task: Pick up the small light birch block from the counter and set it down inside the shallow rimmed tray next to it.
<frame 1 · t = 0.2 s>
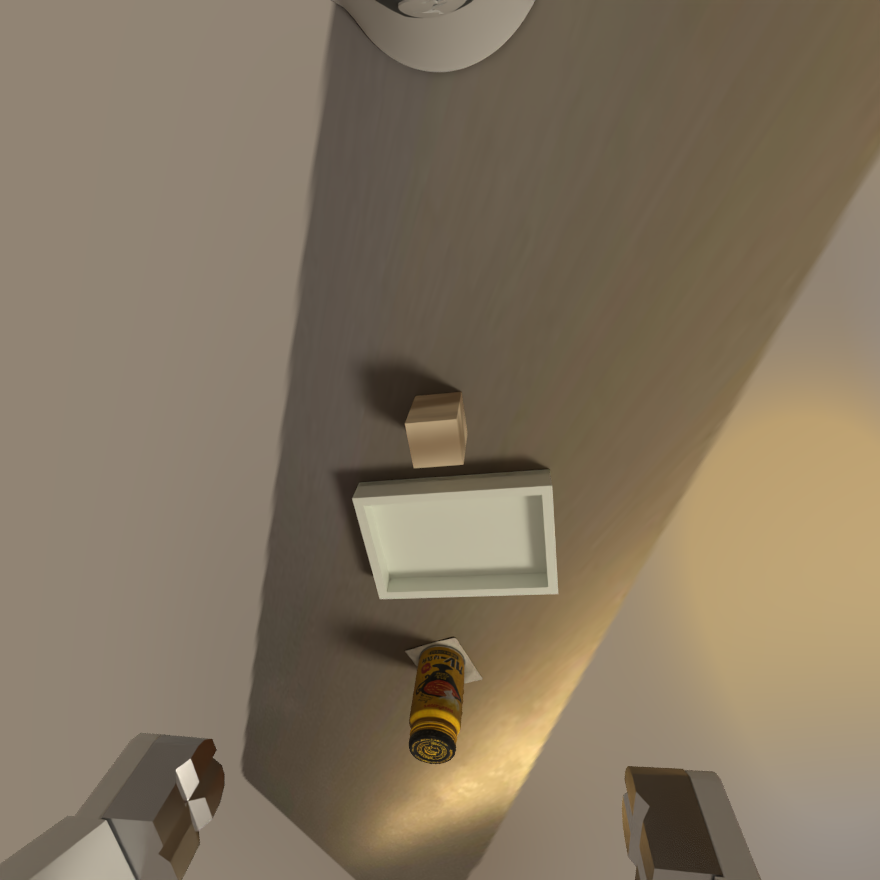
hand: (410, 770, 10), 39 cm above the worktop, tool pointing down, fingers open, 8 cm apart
condiment: (444, 662, 66), on the worktop
birch block: (441, 414, 49), on the worktop
shallow rimmed tray: (460, 529, 55), on the worktop
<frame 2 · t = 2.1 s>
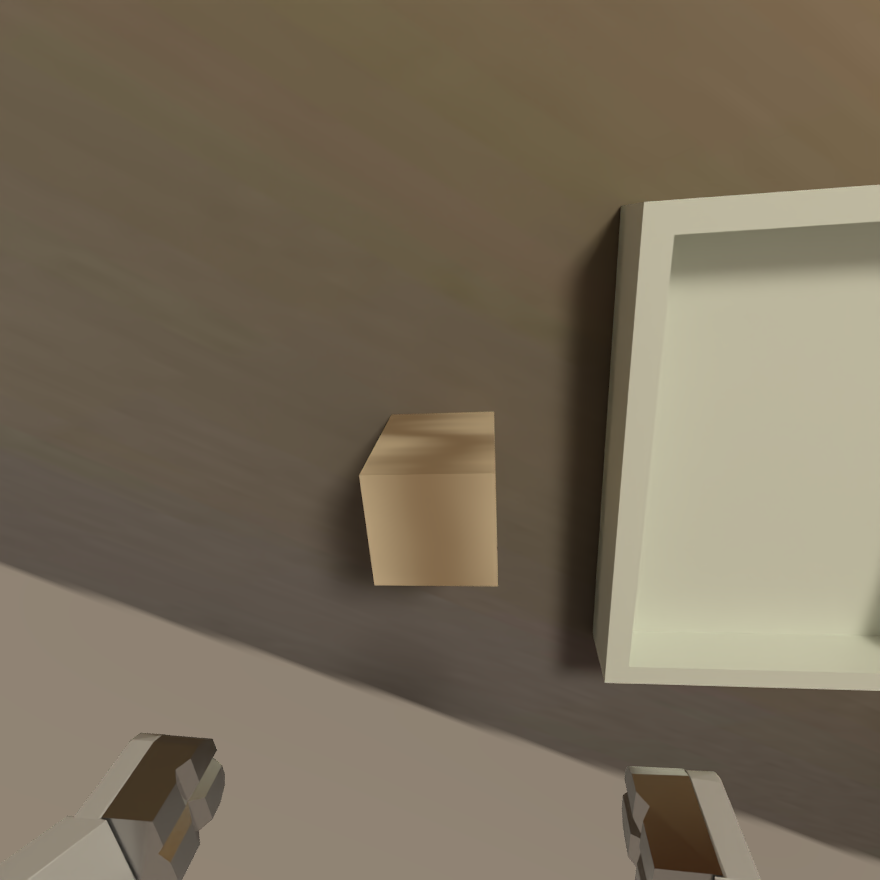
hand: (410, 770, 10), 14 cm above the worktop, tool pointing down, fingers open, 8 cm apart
birch block: (445, 459, 23), on the worktop
shallow rimmed tray: (774, 454, 21), on the worktop
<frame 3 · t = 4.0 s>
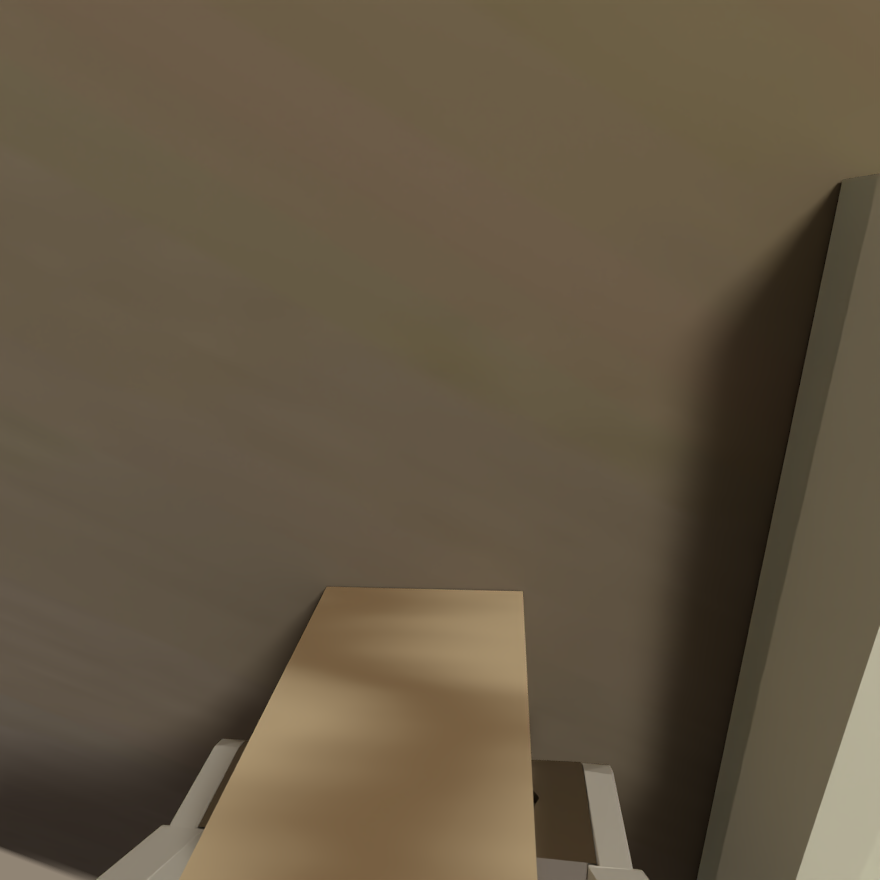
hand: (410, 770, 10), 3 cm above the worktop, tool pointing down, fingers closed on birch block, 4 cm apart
birch block: (429, 664, 12), on the worktop, touching gripper
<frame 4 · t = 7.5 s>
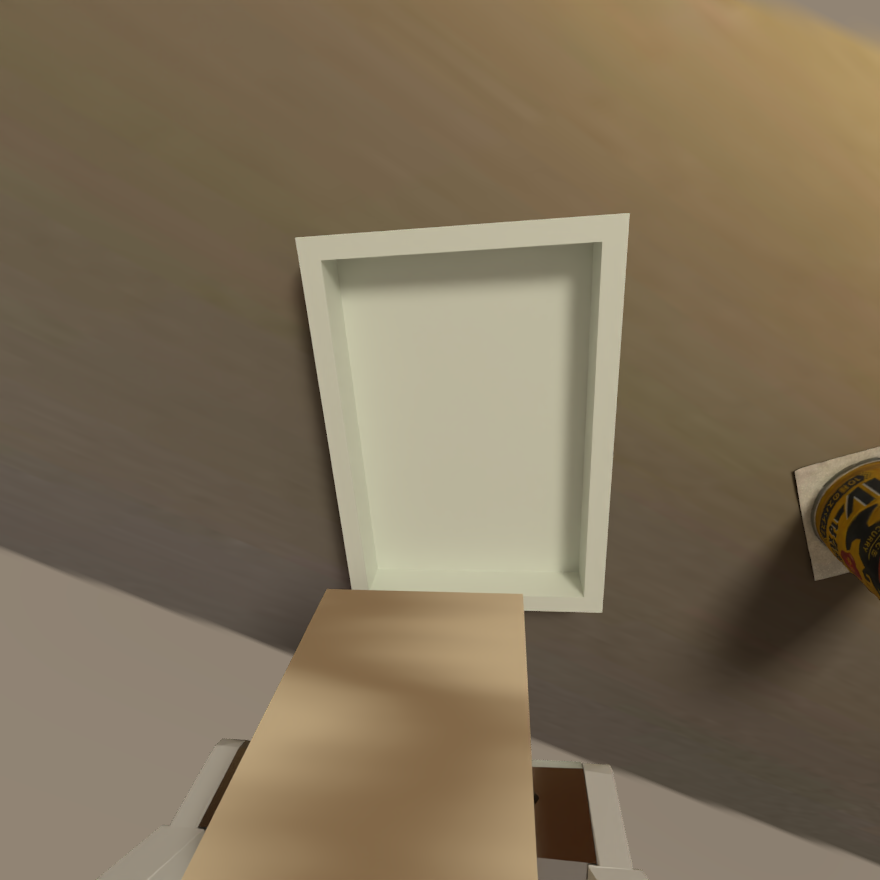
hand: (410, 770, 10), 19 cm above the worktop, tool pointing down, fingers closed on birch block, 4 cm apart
birch block: (429, 666, 12), point 17 cm above the worktop, touching gripper
shallow rimmed tray: (469, 425, 27), on the worktop
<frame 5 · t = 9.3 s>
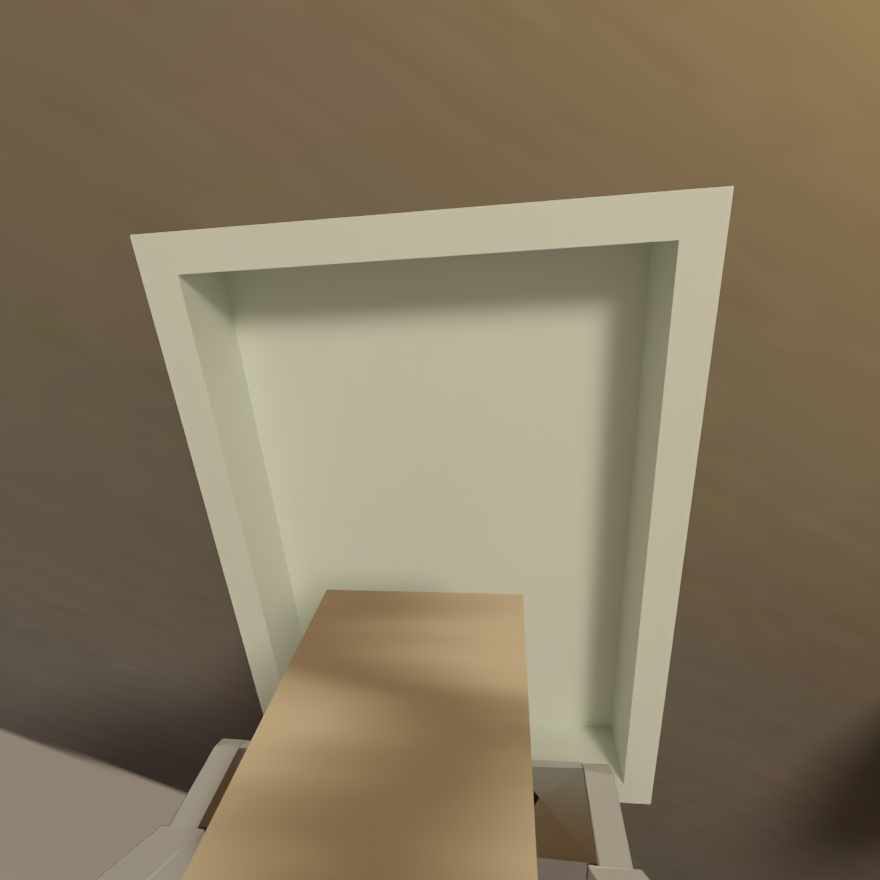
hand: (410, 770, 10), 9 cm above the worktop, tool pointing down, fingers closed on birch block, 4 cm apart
birch block: (429, 667, 12), point 6 cm above the worktop, touching gripper
shallow rimmed tray: (448, 520, 18), on the worktop
when the fingers open (5 cm above the worktop, at t = 10.9 s): birch block drops 2 cm, resting on shallow rimmed tray.
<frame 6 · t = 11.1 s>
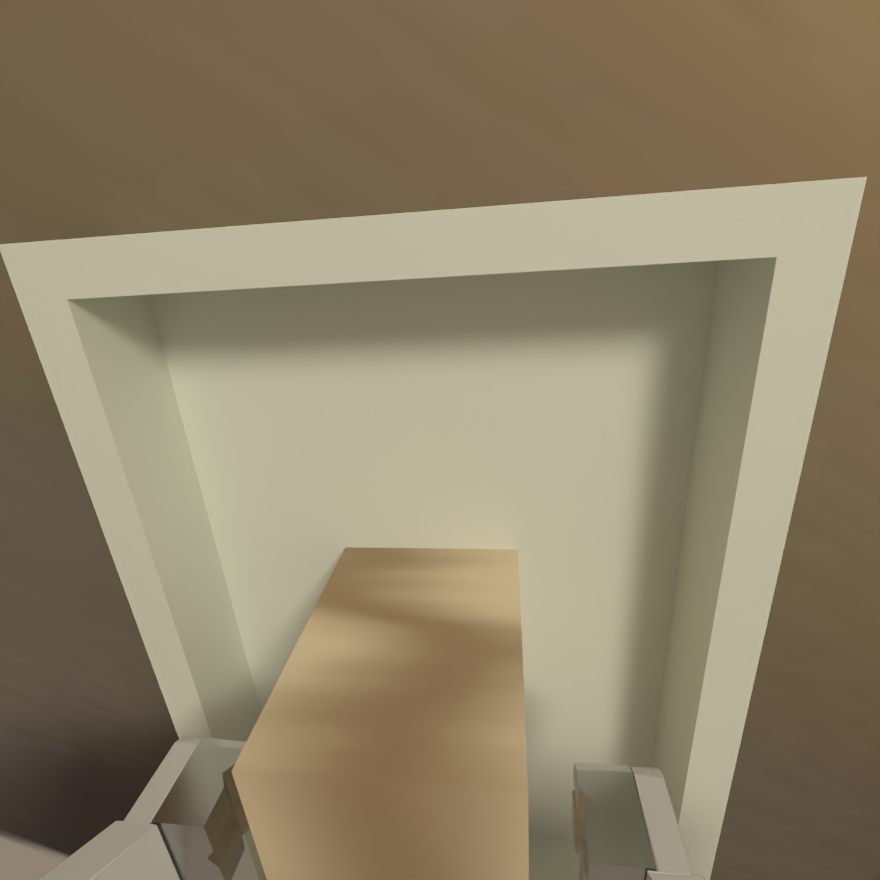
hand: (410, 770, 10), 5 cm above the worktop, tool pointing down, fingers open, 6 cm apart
birch block: (436, 617, 14), point 1 cm above the worktop, touching shallow rimmed tray
shallow rimmed tray: (442, 597, 14), on the worktop
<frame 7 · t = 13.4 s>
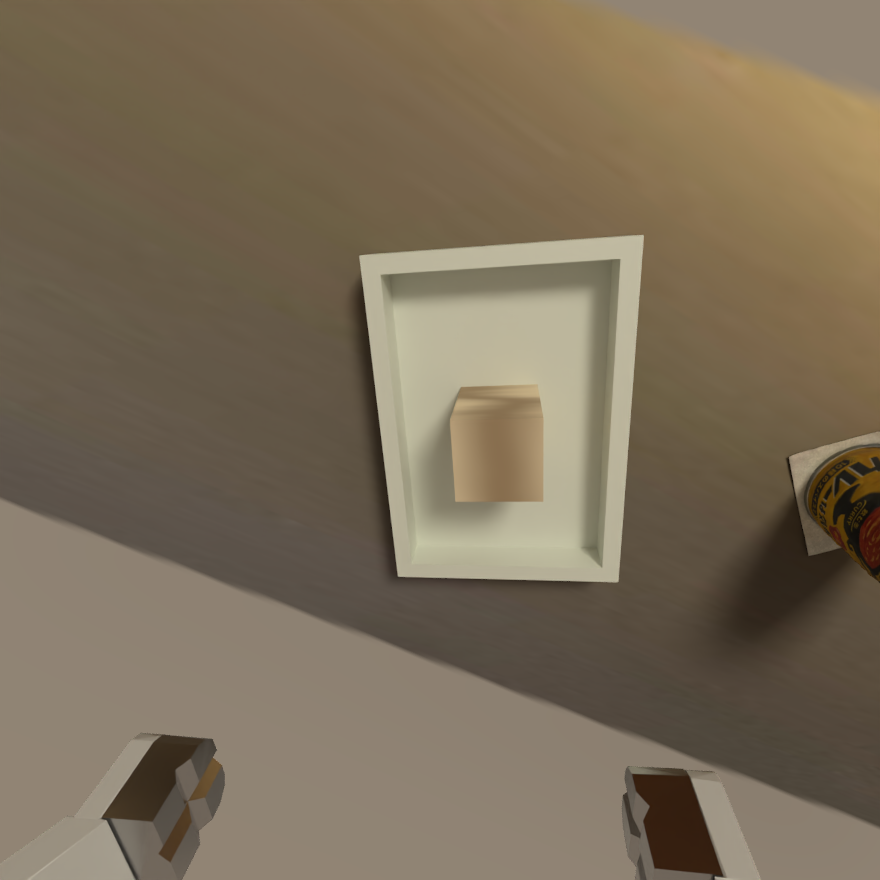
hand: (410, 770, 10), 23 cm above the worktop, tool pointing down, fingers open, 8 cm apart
condiment: (872, 485, 30), on the worktop
birch block: (499, 421, 31), point 1 cm above the worktop, touching shallow rimmed tray
shallow rimmed tray: (501, 416, 31), on the worktop
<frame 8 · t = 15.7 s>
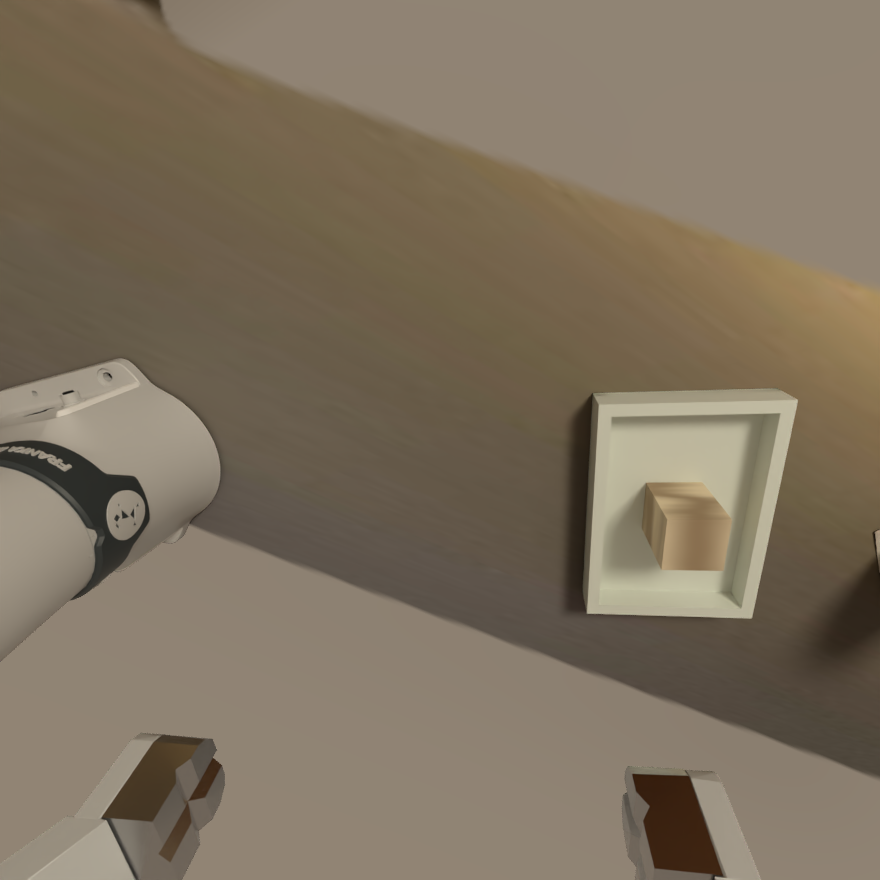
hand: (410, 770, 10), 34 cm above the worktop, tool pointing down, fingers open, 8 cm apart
birch block: (671, 505, 43), point 1 cm above the worktop, touching shallow rimmed tray
shallow rimmed tray: (669, 500, 44), on the worktop
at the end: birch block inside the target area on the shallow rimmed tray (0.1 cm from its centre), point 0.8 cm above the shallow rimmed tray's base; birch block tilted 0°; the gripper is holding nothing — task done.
